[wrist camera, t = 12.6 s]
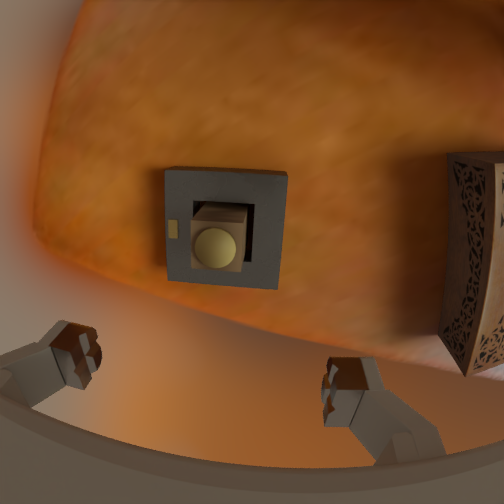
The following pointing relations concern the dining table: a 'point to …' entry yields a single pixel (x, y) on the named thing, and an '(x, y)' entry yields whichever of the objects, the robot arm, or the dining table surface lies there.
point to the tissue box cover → (475, 262)
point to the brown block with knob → (219, 236)
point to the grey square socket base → (236, 191)
